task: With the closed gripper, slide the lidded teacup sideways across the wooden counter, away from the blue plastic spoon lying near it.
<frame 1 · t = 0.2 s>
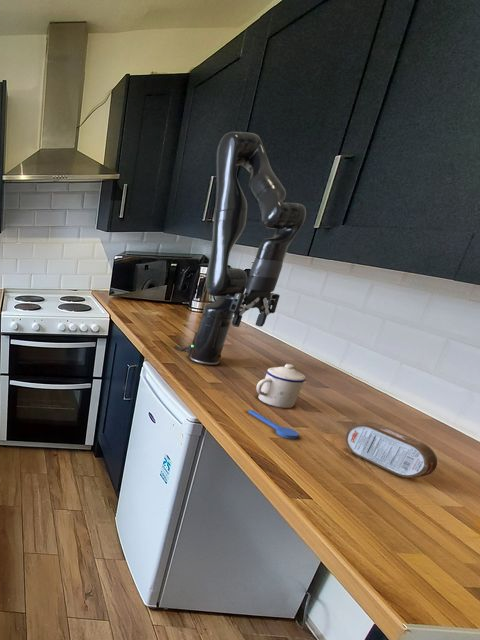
hand: (246, 326, 128), 17 cm above the worktop, tool pointing down, fingers open, 8 cm apart
tin: (378, 465, 89), on the worktop
teacup with lid: (270, 402, 117), on the worktop
spoon: (271, 425, 104), on the worktop
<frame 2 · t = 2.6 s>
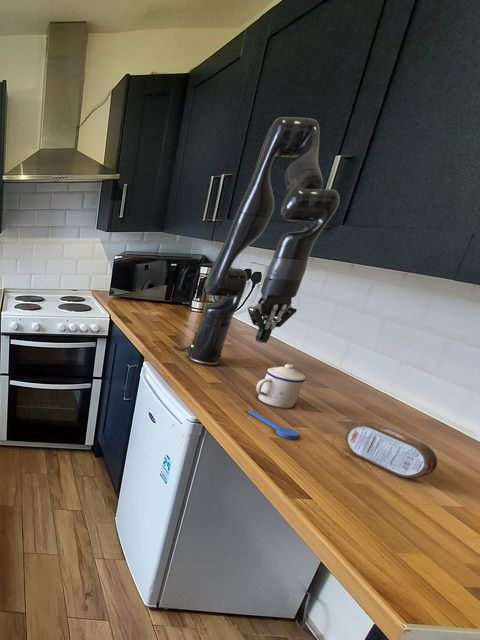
hand: (260, 341, 108), 19 cm above the worktop, tool pointing down, fingers closed
nothing on the worktop moved.
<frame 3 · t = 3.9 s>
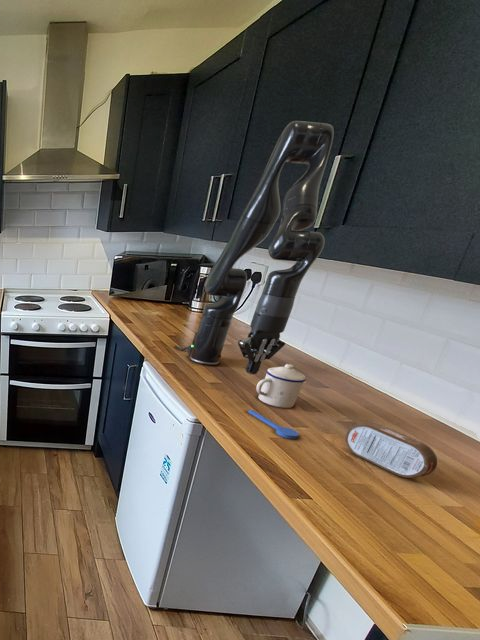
hand: (250, 373, 112), 9 cm above the worktop, tool pointing down, fingers closed
nothing on the worktop moved.
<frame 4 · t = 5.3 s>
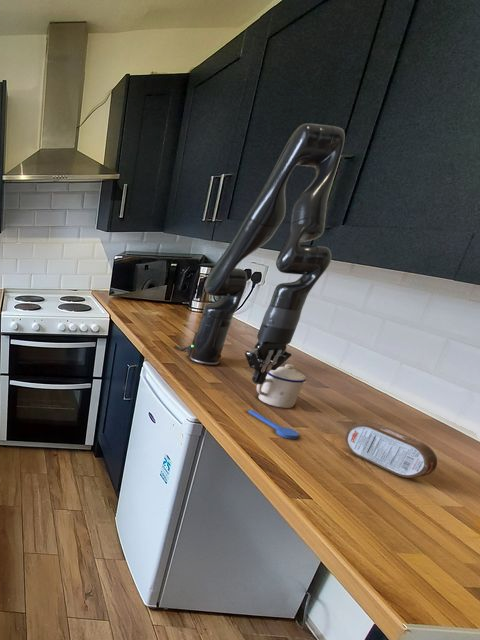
hand: (257, 383, 114), 6 cm above the worktop, tool pointing down, fingers closed
teacup with lid: (270, 402, 117), on the worktop, touching gripper
everything else where it was.
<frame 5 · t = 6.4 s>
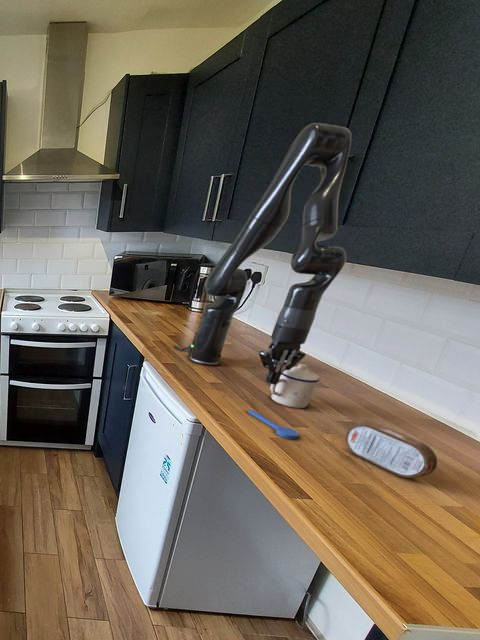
hand: (270, 383, 114), 6 cm above the worktop, tool pointing down, fingers closed
teacup with lid: (283, 402, 118), on the worktop, touching gripper
everything else where it was.
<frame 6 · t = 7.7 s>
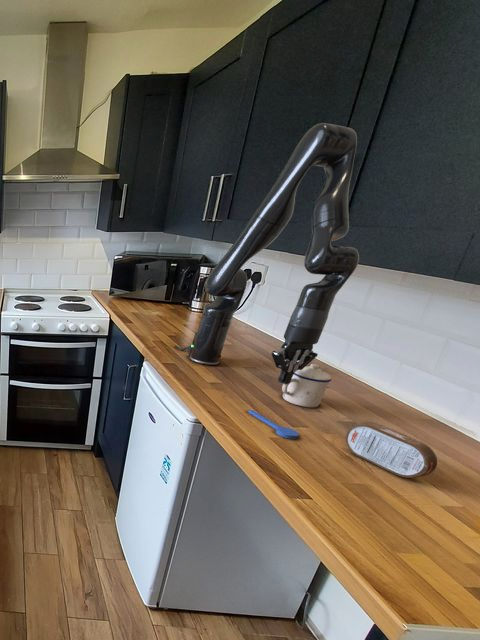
hand: (283, 383, 114), 6 cm above the worktop, tool pointing down, fingers closed
teacup with lid: (295, 402, 118), on the worktop, touching gripper
everything else where it was.
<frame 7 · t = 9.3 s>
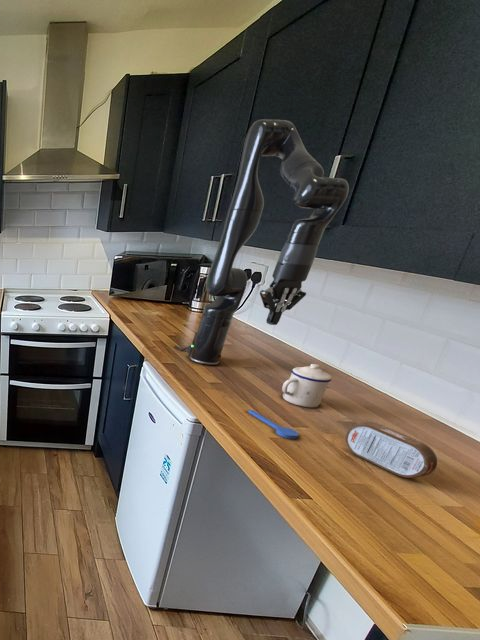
hand: (271, 324, 114), 22 cm above the worktop, tool pointing down, fingers closed
teacup with lid: (295, 402, 118), on the worktop
everything else where it was.
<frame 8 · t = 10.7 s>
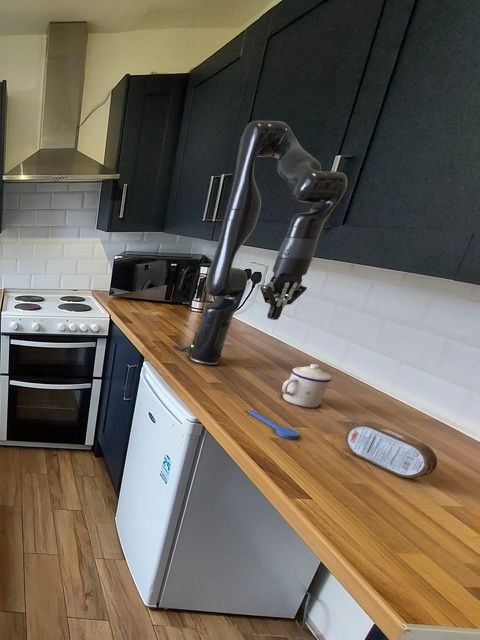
hand: (272, 319, 114), 23 cm above the worktop, tool pointing down, fingers closed
nothing on the worktop moved.
at the end: teacup with lid inside the target area (1.9 cm from its centre), on the worktop; teacup with lid tilted 0°; spoon moved 0.0 cm from its start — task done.
